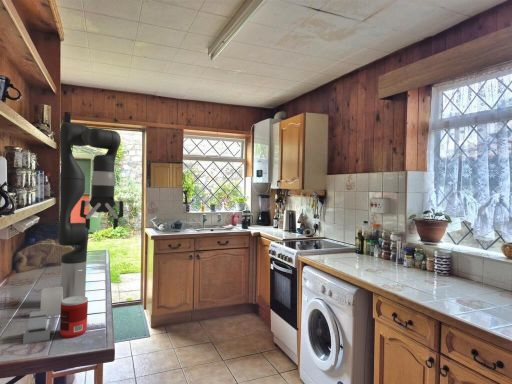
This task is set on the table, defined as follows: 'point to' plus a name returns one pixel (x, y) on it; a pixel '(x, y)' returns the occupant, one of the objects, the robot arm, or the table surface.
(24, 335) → the rail channel
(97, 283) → the table surface
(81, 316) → the canned food
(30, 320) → the block
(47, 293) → the tea bag
